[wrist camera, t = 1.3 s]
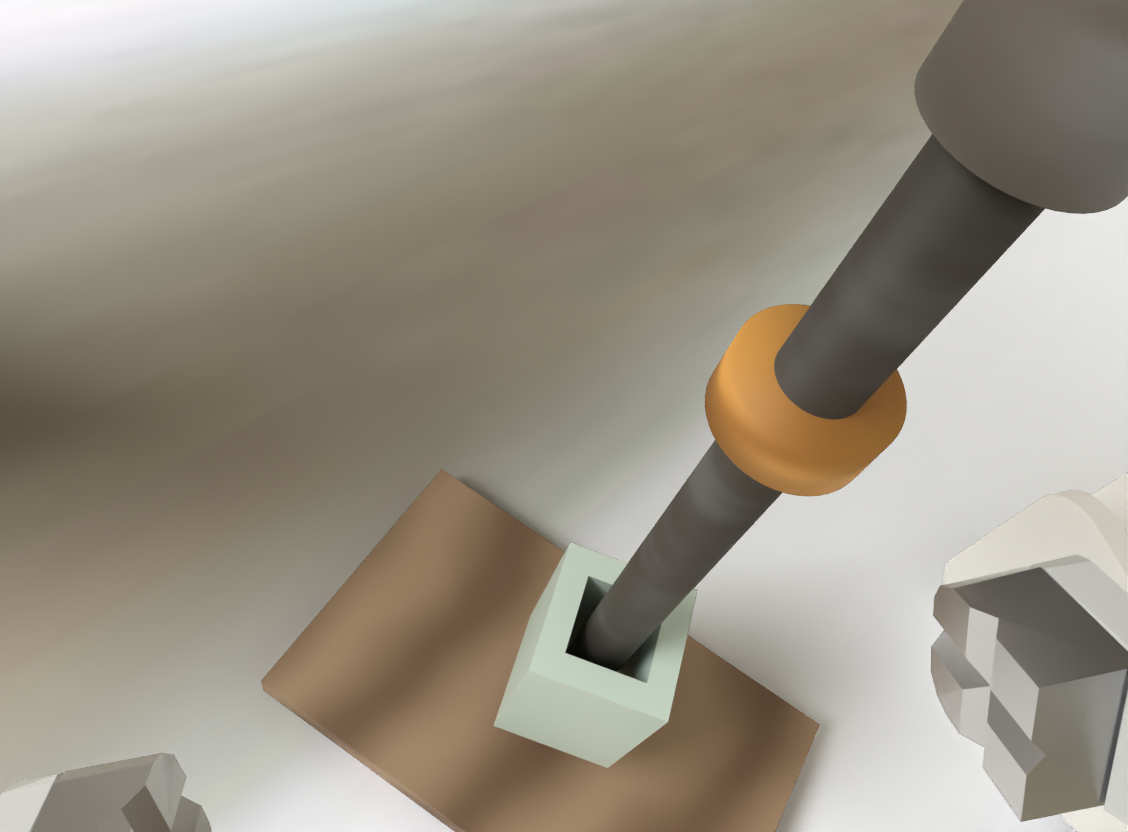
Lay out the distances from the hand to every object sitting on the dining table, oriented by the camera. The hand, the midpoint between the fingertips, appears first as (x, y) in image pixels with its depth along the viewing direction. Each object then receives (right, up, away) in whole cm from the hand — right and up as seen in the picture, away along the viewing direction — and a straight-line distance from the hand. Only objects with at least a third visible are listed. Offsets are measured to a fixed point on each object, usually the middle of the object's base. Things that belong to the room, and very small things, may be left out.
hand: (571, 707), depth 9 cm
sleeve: (0, -9, +28) cm, 30 cm away
